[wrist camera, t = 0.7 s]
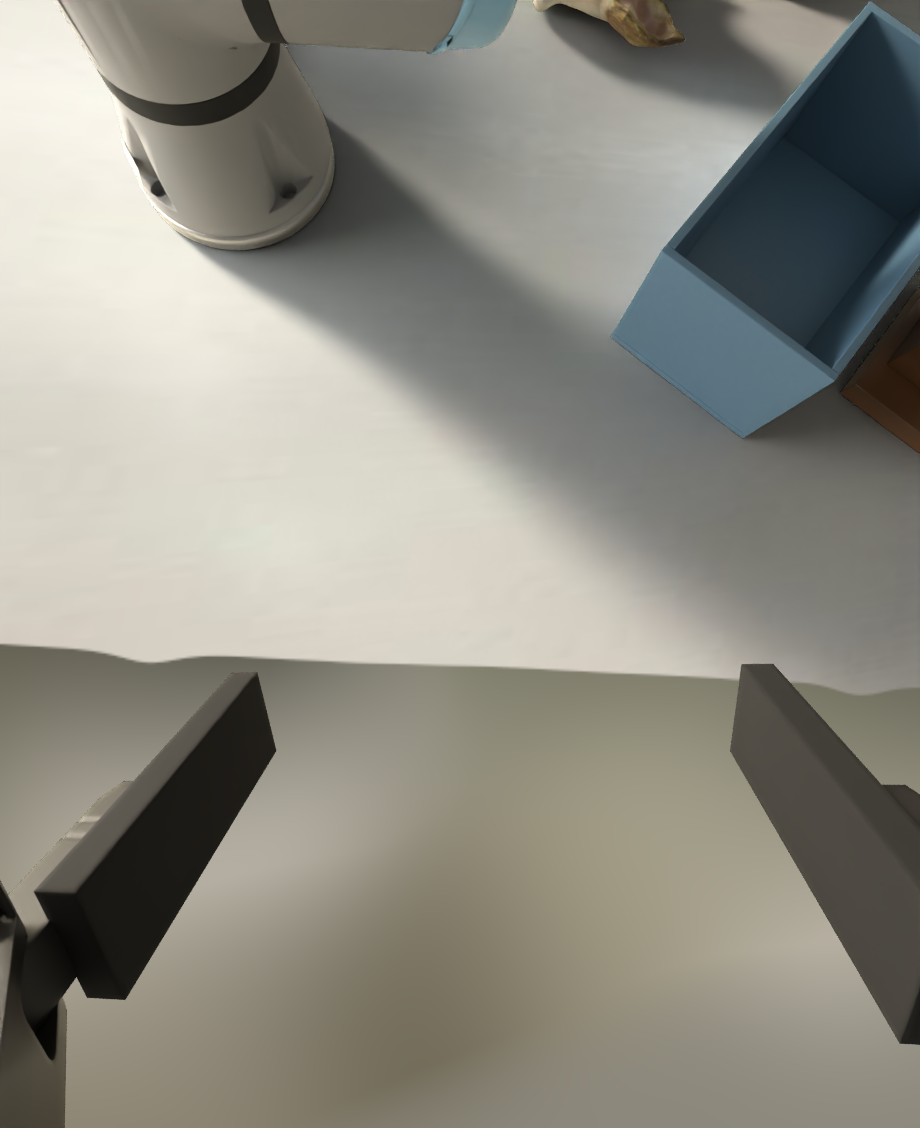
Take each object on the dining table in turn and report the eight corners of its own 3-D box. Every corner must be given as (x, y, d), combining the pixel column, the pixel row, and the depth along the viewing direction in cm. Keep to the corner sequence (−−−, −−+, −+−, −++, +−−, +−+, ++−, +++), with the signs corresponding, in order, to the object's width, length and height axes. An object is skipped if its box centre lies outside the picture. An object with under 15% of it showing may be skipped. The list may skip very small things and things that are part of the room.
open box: (742, 439, 41) (834, 381, 31) (610, 337, 41) (661, 250, 32) (903, 227, 44) (1032, 115, 34) (777, 135, 44) (870, 0, 35)
